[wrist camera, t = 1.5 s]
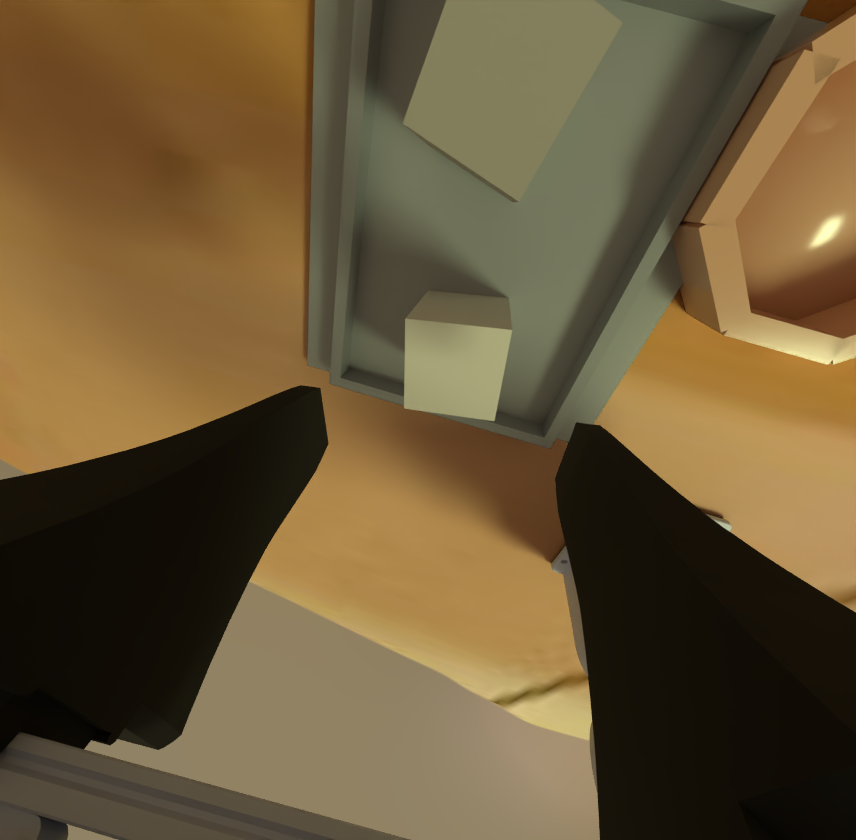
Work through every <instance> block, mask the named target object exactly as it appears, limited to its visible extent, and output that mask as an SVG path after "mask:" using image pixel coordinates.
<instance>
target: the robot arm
mask: <svg viewBox="0 0 856 840" xmlns="http://www.w3.org/2000/svg"><path fill="white" fill-rule="evenodd" d="M327 446H328V438H327V431H326V424H325V417H324V410H323V403H322V396H321V389H320V388H316V387H309V386H301V385H300V386H297V387H294V388H291V389H288V390H286V391H283V392H281V393H278V394H276V395H273V396H271V397H269V398H266V399H264V400H262V401H259V402H257V403H255V404H252V405H250V406H248V407H245V408H243V409H241V410H238V411H236V412H234V413H231V414H229V415H226V416H224V417H221V418H219V419H216V420H214V421H211V422H208V423H206V424H203V425H201V426H198V427H196V428H193V429H191V430H188V431H185V432H182V433H180V434H177V435H174V436H171V437H168V438H165V439H162V440H159V441H155V442H152V443H149V444H146V445H143V446H140V447H136V448H133V449H129V450H126V451H122V452H118V453H115V454H111V455H107V456H103V457H99V458H95V459H92V460H88V461H84V462H80V463H76V464H72V465H68V466H64V467H60V468H55V469H51V470H46V471H41V472H37V473H32V474H28V475H23V476H18V477H13V478H8V479H3V480H0V840H67V837H68V826H67V824H69V825H72V826H75V827H79V828H82V829H85V830H88V831H92V832H95V833H98V834H101V835H105V836H108V837H112V838H115V839H118V840H409V839H406V838H402V837H398V836H395V835H391V834H388V833H384V832H380V831H377V830H373V829H369V828H366V827H362V826H359V825H355V824H351V823H348V822H344V821H341V820H337V819H333V818H330V817H326V816H322V815H319V814H315V813H312V812H308V811H304V810H301V809H297V808H294V807H290V806H286V805H283V804H279V803H275V802H272V801H268V800H265V799H261V798H257V797H254V796H250V795H246V794H243V793H239V792H236V791H232V790H228V789H224V788H221V787H217V786H214V785H210V784H206V783H203V782H199V781H196V780H192V779H188V778H185V777H181V776H178V775H174V774H170V773H167V772H163V771H160V770H156V769H152V768H149V767H145V766H141V765H138V764H134V763H130V762H127V761H123V760H120V759H116V758H113V757H109V756H105V755H102V754H98V753H94V752H91V751H87V750H84V749H85V747H86V746H87V745H88V743H89V742H90V741H91V740H93V741H96V742H100V743H104V744H107V745H111V744H113V743H114V742H115V741H116V740H117V739H120V740H124V741H127V742H131V743H135V744H138V745H143V746H146V747H150V748H153V749H157V750H159V749H161V748H164V747H165V746H167V745H168V744H170V743H171V742H173V741H174V740H176V739H177V738H178V737H179V736H180V735H181V734H182V732H183V729H184V727H185V724H186V721H187V719H188V716H189V714H190V711H191V709H192V707H193V704H194V702H195V699H196V697H197V695H198V692H199V689H200V687H201V685H202V682H203V680H204V678H205V675H206V673H207V670H208V668H209V665H210V663H211V661H212V659H213V656H214V654H215V652H216V650H217V647H218V646H219V643H220V641H221V639H222V637H223V634H224V632H225V630H226V628H227V626H228V623H229V621H230V619H231V617H232V615H233V613H234V611H235V609H236V606H237V604H238V602H239V600H240V598H241V596H242V594H243V592H244V590H245V588H246V586H247V583H248V582H249V580H250V578H251V576H252V574H253V572H254V570H255V568H256V567H257V565H258V563H259V561H260V559H261V557H262V555H263V553H264V551H265V549H266V548H267V546H268V544H269V543H270V541H271V539H272V538H273V536H274V534H275V533H276V531H277V530H278V528H279V527H280V525H281V524H282V522H283V521H284V519H285V518H286V516H287V514H288V513H289V511H290V510H291V508H292V507H293V505H294V504H295V502H296V501H297V499H298V498H299V496H300V495H301V493H302V492H303V490H304V489H305V487H306V486H307V484H308V482H309V481H310V479H311V478H312V476H313V475H314V473H315V471H316V469H317V467H318V465H319V463H320V461H321V459H322V457H323V455H324V452H325V450H326V448H327ZM555 481H556V495H557V505H558V513H559V517H560V522H561V526H562V531H563V535H564V539H565V544H566V546H565V547H564V548H563V549H562V551H561V552H560V553H559V555H558V556H557V557H556V558H555V560H554V561H553V562H552V564H551V567H552V570H553V571H555V572H557V573H561V574H563V577H564V583H565V588H566V594H567V600H568V606H569V612H570V617H571V623H572V629H573V635H574V641H575V646H576V651H577V654H578V657H579V660H580V663H581V665H582V667H583V669H584V671H585V673H586V674H587V676H588V680H589V689H590V699H591V711H592V723H591V728H590V754H591V763H592V769H593V775H594V780H595V785H596V789H597V793H598V808H599V828H600V840H856V612H854V611H852V610H851V609H849V608H847V607H845V606H844V605H842V604H840V603H839V602H837V601H835V600H834V599H832V598H830V597H829V596H827V595H826V594H824V593H822V592H821V591H819V590H818V589H816V588H814V587H813V586H811V585H809V584H808V583H806V582H805V581H803V580H801V579H800V578H798V577H797V576H795V575H793V574H792V573H790V572H789V571H787V570H785V569H784V568H782V567H781V566H779V565H778V564H776V563H775V562H773V561H772V560H770V559H768V558H767V557H765V556H764V555H762V554H761V553H759V552H758V551H757V550H755V549H754V548H752V547H751V546H749V545H748V544H747V543H745V542H744V541H742V540H741V539H739V538H738V537H737V536H735V535H734V534H732V533H731V532H729V531H730V530H731V529H732V526H731V524H730V523H729V522H728V521H727V520H725V519H722V518H718V517H715V516H711V515H708V514H705V513H703V512H702V511H701V510H700V509H698V508H697V507H696V506H695V505H693V504H692V503H691V502H690V501H688V500H687V499H686V498H684V497H683V496H682V495H681V494H679V493H678V492H677V491H676V490H675V489H673V488H672V487H671V486H670V485H669V484H667V483H666V482H665V481H664V480H663V479H661V478H660V477H659V476H658V475H657V474H656V473H654V472H653V471H652V470H651V469H650V468H649V467H648V466H646V465H645V464H644V463H643V462H642V461H641V460H640V459H638V458H637V457H636V456H635V455H634V454H633V453H632V452H631V451H630V450H628V449H627V448H626V447H625V446H624V445H623V444H622V443H621V442H619V441H618V440H617V439H616V438H615V437H614V436H613V435H611V434H610V433H609V432H608V431H606V430H605V429H604V428H603V427H601V426H600V425H593V424H585V423H578V422H576V424H575V427H574V429H573V432H572V435H571V437H570V440H569V443H568V445H567V448H566V451H565V453H564V456H563V459H562V461H561V464H560V467H559V470H558V472H557V475H556V478H555Z"/></svg>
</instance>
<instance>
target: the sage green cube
mask: <svg viewBox="0 0 856 840" xmlns="http://www.w3.org/2000/svg"><path fill="white" fill-rule="evenodd" d="M511 334H512V322H511V313H510V303H509V298H503V297H492V296H482V295H471V294H461V293H451V292H440V291H430V290H428V292H427V293H426V294H425V295H424V296H423V298H422V299H421V300H420V301H419V303H418V304H417V305H416V306H415V307H414V309H413V310H412V311H411V312H410V314H409V315H408V316H407V317H406V318H405V374H404V409H411V410H418V411H425V412H432V413H439V414H446V415H454V416H461V417H468V418H475V419H482V420H489V421H495V416H496V411H497V406H498V401H499V396H500V390H501V385H502V380H503V375H504V370H505V365H506V360H507V355H508V350H509V344H510V339H511Z"/></svg>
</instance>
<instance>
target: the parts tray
mask: <svg viewBox="0 0 856 840" xmlns="http://www.w3.org/2000/svg"><path fill="white" fill-rule="evenodd" d="M595 1H596V2H597V3H598V4H600V5H601V6H602V7H604V8H605V9H606V10H607V11H609V12H610V13H611V14H612V15H614V16H615V17H616V18H617V19H619V20H620V21H621V22H623V23H622V25H621V27H620V28H619V30H618V32H617V34H616V35H615V37H614V39H613V41H612V42H611V44H610V46H609V47H608V49H607V51H606V53H605V54H604V56H603V58H602V59H601V61H600V63H599V65H598V66H597V68H596V70H595V72H594V73H593V75H592V77H591V78H590V80H589V82H588V84H587V85H586V87H585V89H584V90H583V92H582V94H581V96H580V97H579V99H578V101H577V103H576V104H575V106H574V108H573V109H572V111H571V113H570V115H569V116H568V118H567V120H566V121H565V123H564V125H563V127H562V128H561V130H560V132H559V134H558V135H557V137H556V139H555V140H554V142H553V144H552V146H551V147H550V149H549V151H548V152H547V154H546V156H545V158H544V159H543V161H542V163H541V165H540V166H539V168H538V170H537V171H536V173H535V175H534V177H533V178H532V180H531V182H530V183H529V185H528V187H527V189H526V190H525V192H524V194H523V196H522V197H521V199H520V201H519V202H512V201H510V200H509V199H507V198H506V197H504V196H503V195H501V194H500V193H498V192H497V191H495V190H494V189H492V188H491V187H489V186H488V185H486V184H485V183H483V182H482V181H480V180H479V179H477V178H476V177H474V176H473V175H471V174H470V173H468V172H467V171H465V170H464V169H462V168H461V167H459V166H458V165H457V164H455V163H454V162H452V161H451V160H449V159H448V158H446V157H445V156H443V155H442V154H440V153H439V152H437V151H436V150H434V149H433V148H431V147H430V146H429V145H428V144H426V143H425V142H424V141H423V140H422V139H421V138H419V137H418V136H417V135H416V134H415V133H413V132H412V131H411V130H410V129H409V128H407V127H406V126H405V125H404V124H403V121H404V118H405V115H406V112H407V110H408V107H409V104H410V101H411V98H412V96H413V93H414V90H415V87H416V84H417V81H418V79H419V76H420V73H421V70H422V67H423V65H424V62H425V59H426V56H427V53H428V50H429V48H430V45H431V42H432V39H433V36H434V34H435V31H436V28H437V25H438V22H439V20H440V17H441V14H442V11H443V8H444V5H445V3H446V0H315V21H314V70H313V118H312V167H311V216H310V265H309V314H308V362H307V365H308V366H311V367H315V368H318V369H322V370H325V371H328V372H330V384H331V385H335V386H338V387H342V388H345V389H348V390H352V391H355V392H358V393H362V394H365V395H369V396H372V397H375V398H379V399H382V400H386V401H389V402H392V403H396V404H399V405H403V406H404V374H405V318H406V317H407V316H408V315H409V314H410V312H411V311H412V310H413V309H414V307H415V306H416V305H417V304H418V303H419V301H420V300H421V299H422V298H423V296H424V295H425V294H426V293H427V292H428V290H430V291H440V292H451V293H461V294H471V295H482V296H492V297H503V298H509V303H510V313H511V322H512V334H511V339H510V344H509V350H508V355H507V360H506V365H505V370H504V375H503V380H502V385H501V390H500V396H499V401H498V406H497V411H496V416H495V421H489V420H482V419H475V418H468V417H461V416H454V415H446V414H439V413H432V412H426V413H430V414H433V415H436V416H440V417H443V418H447V419H450V420H453V421H457V422H460V423H464V424H467V425H470V426H474V427H477V428H481V429H484V430H487V431H491V432H494V433H497V434H501V435H504V436H508V437H511V438H514V439H518V440H521V441H525V442H528V443H531V444H535V445H538V446H542V447H545V448H548V449H550V448H551V447H552V445H553V443H554V441H555V440H556V439H560V440H563V441H566V442H569V440H570V437H571V435H572V432H573V429H574V427H575V424H576V422H578V423H585V424H593V423H594V422H595V420H596V419H597V417H598V416H599V414H600V412H601V411H602V409H603V408H604V406H605V405H606V403H607V401H608V400H609V398H610V397H611V395H612V394H613V392H614V390H615V389H616V387H617V386H618V384H619V383H620V381H621V379H622V378H623V376H624V375H625V373H626V372H627V370H628V368H629V367H630V365H631V364H632V362H633V361H634V359H635V357H636V356H637V354H638V353H639V351H640V350H641V348H642V346H643V345H644V343H645V342H646V340H647V339H648V337H649V335H650V334H651V332H652V331H653V329H654V328H655V326H656V324H657V323H658V321H659V320H660V318H661V317H662V315H663V313H664V312H665V310H666V309H667V307H668V306H669V304H670V302H671V301H672V299H673V298H674V296H675V295H676V293H677V291H678V290H679V288H680V287H681V285H682V284H683V281H682V277H681V273H680V269H679V265H678V261H677V257H676V253H675V249H674V244H673V240H672V236H673V234H674V233H675V231H676V229H677V227H678V226H679V224H680V222H681V220H682V219H683V217H684V215H685V213H686V212H687V210H688V208H689V207H690V205H691V203H692V201H693V200H694V198H695V196H696V194H697V193H698V191H699V189H700V187H701V186H702V184H703V182H704V180H705V179H706V177H707V175H708V173H709V172H710V170H711V168H712V167H713V165H714V163H715V161H716V160H717V158H718V156H719V154H720V153H721V151H722V149H723V147H724V146H725V144H726V142H727V140H728V139H729V137H730V135H731V133H732V132H733V130H734V128H735V126H736V125H737V123H738V121H739V120H740V118H741V116H742V114H743V113H744V111H745V109H746V107H747V106H748V104H749V102H750V100H751V99H752V97H753V95H754V93H755V92H756V90H757V88H758V86H759V85H760V83H761V81H762V80H763V78H764V76H765V74H766V73H767V71H768V69H769V67H770V66H771V64H772V62H773V60H774V59H775V58H777V57H778V56H780V55H781V54H783V53H784V52H786V51H787V50H789V49H791V48H792V47H794V46H795V45H797V44H798V43H800V42H801V41H803V40H805V39H806V38H808V37H809V36H811V35H812V34H814V33H816V32H817V31H819V30H820V29H822V28H823V27H825V26H826V25H828V24H830V23H826V22H822V21H818V20H815V19H811V18H807V17H803V16H799V15H800V13H801V12H802V10H803V8H804V6H805V5H806V3H807V1H808V0H595ZM423 412H425V411H423Z"/></svg>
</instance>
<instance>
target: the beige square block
mask: <svg viewBox="0 0 856 840" xmlns="http://www.w3.org/2000/svg"><path fill="white" fill-rule="evenodd" d="M622 23H623V22H621V21H620V20H619V19H617V18H616V17H615V16H614V15H612V14H611V13H610V12H609V11H607V10H606V9H605V8H604V7H602V6H601V5H600V4H598V3H597V2H596V1H595V0H446V3H445V5H444V8H443V11H442V14H441V17H440V20H439V22H438V25H437V28H436V31H435V34H434V36H433V39H432V42H431V45H430V48H429V50H428V53H427V56H426V59H425V62H424V65H423V67H422V70H421V73H420V76H419V79H418V81H417V84H416V87H415V90H414V93H413V96H412V98H411V101H410V104H409V107H408V110H407V112H406V115H405V118H404V121H403V124H404V125H405V126H406V127H407V128H409V129H410V130H411V131H412V132H413V133H415V134H416V135H417V136H418V137H419V138H421V139H422V140H423V141H424V142H425V143H426V144H428V145H429V146H430V147H431V148H433V149H434V150H436V151H437V152H439V153H440V154H442V155H443V156H445V157H446V158H448V159H449V160H451V161H452V162H454V163H455V164H457V165H458V166H459V167H461V168H462V169H464V170H465V171H467V172H468V173H470V174H471V175H473V176H474V177H476V178H477V179H479V180H480V181H482V182H483V183H485V184H486V185H488V186H489V187H491V188H492V189H494V190H495V191H497V192H498V193H500V194H501V195H503V196H504V197H506V198H507V199H509V200H510V201H512V202H519V201H520V199H521V197H522V196H523V194H524V192H525V190H526V189H527V187H528V185H529V183H530V182H531V180H532V178H533V177H534V175H535V173H536V171H537V170H538V168H539V166H540V165H541V163H542V161H543V159H544V158H545V156H546V154H547V152H548V151H549V149H550V147H551V146H552V144H553V142H554V140H555V139H556V137H557V135H558V134H559V132H560V130H561V128H562V127H563V125H564V123H565V121H566V120H567V118H568V116H569V115H570V113H571V111H572V109H573V108H574V106H575V104H576V103H577V101H578V99H579V97H580V96H581V94H582V92H583V90H584V89H585V87H586V85H587V84H588V82H589V80H590V78H591V77H592V75H593V73H594V72H595V70H596V68H597V66H598V65H599V63H600V61H601V59H602V58H603V56H604V54H605V53H606V51H607V49H608V47H609V46H610V44H611V42H612V41H613V39H614V37H615V35H616V34H617V32H618V30H619V28H620V27H621V25H622Z"/></svg>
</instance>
